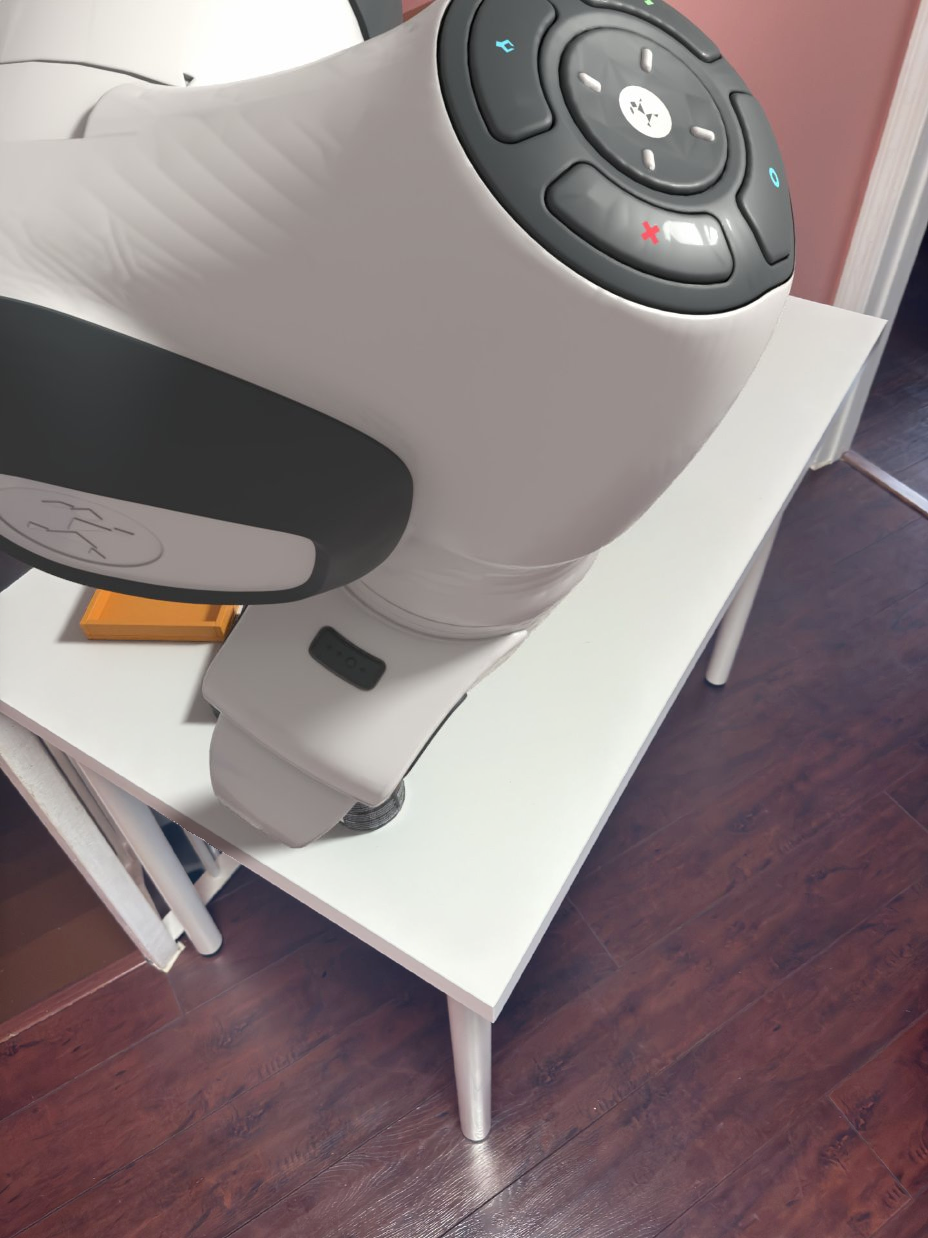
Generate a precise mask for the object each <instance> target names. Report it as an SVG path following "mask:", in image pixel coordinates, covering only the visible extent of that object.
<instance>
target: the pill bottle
mask: <svg viewBox="0 0 928 1238" xmlns="http://www.w3.org/2000/svg"><path fill="white" fill-rule="evenodd" d="M405 800H406V786H405V779H401V780H400V782H399V784H398V785H397V787H396V788H395V790H394V791H393V792H392V794H391V795H390V796H389V798H388V799H387V800H385V801H384V802H383V803H382V804H380V805H378V806H376V807H369V806H367V805H365V804H363V803H361V802H359V801H357V802H356V804H355V805H354V806H353V807H352V808H351V809H350V810H349V812H348V813H347V814H346V815H345V816H344V817H343V818H342V819H341V820H340V821H339V822H338V824H340V825H341V826H342V827H344V828H346V829H349V830H352V831H357V832H369V831H374V830H378V829H381V828H382V827H385V826H386V825H387V824H389V823H391V822H392V821H393V820H394V819H395V818H396V817H397V816H398V814H399V813H400V812H401V810H402V808H403V806H404V803H405Z"/></svg>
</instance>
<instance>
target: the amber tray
mask: <svg viewBox="0 0 928 1238" xmlns="http://www.w3.org/2000/svg"><path fill="white" fill-rule="evenodd" d="M239 606H240V605H206V604H189V603H179V602H169V601H161V600H154V599H147V598H142V597H136V596H130V595H125V594H120V593H115V592H110V591H106V590H101V589H97V588H95V591H94V593H93V594H92V597H91V599H90V601H89V603H88V605H87V607H86V609H85V612H84V613H83V615H82V617H81V618H80V621H79V624H78V625H79V627H80V628H81V630H82V631H83V634H84V635H85V637H86V638H87V640H112V641H113V640H114V641H115V640H118V641H170V642H172V641H175V642H177V641H178V642H223V641H224V639H225V637H226V636H227V634H228V633H229V631H230V629H231V628H232V626H233V625H234V621H235V618H236V615H237V612H238V610H239Z"/></svg>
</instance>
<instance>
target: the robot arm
mask: <svg viewBox="0 0 928 1238" xmlns="http://www.w3.org/2000/svg"><path fill="white" fill-rule="evenodd" d="M720 50H721V49H720V48H719V47H718V45H717V44H716V43H715V42H714V41H713V39H711V37H709V36H708V35H707V34H706V33H705V32H704V31H703V30H701V29H700V28H699V26H697V25H696V24H695V23H693V21H691V20H690V19H689V18H687V17H686V16H685V14H682V13H681V12H680V11H679V10H678V9H676V8H674V7H673V6H672V5H670V4H669V3H668V2H666V1H664V0H434V1H433V2H432V3H430V4H429V5H428V6H426V7H425V8H424V9H423V10H421V11H420V12H418V13H417V14H415V15H414V16H412V17H411V18H409V19H408V20H406V21H404V15H403V1H402V0H0V551H1V552H3V553H4V554H6V555H8V556H9V557H12V558H13V559H15V560H18V561H20V562H21V563H23V564H26V565H28V566H30V567H32V568H33V569H36V570H39V571H41V572H42V573H45V574H48V575H51V576H53V577H57V578H59V579H62V580H65V581H68V582H70V583H71V582H72V583H74V584H78V585H81V586H86V587H89V588H92V589H101V590H106V591H110V592H115V593H120V594H125V595H130V596H136V597H142V598H147V599H154V600H161V601H169V602H179V603H189V604H206V605H239V606H243V605H245V607H244V609H243V610H242V609H241V610H242V612H241V611H240V613H239V615H238V617H237V618H236V620H234V621H235V622H233V624H232V627H231V629H230V631H229V633H228V634H227V636H226V637H225V639H224V641H222V642H221V645H220V647H219V651H217V653H216V655H215V656H214V658H213V659H212V661H211V662H210V664H209V666H208V668H207V670H206V671H205V674H204V677H203V681H202V686H201V691H202V696H203V698H204V699H205V700H206V701H207V702H208V703H209V705H210V704H211V705H213V706H214V707H215V708H216V709H217V710H218V711H220V712H221V713H220V715H219V718H218V719H217V720H216V722H215V725H214V728H213V732H212V734H211V739H210V743H209V750H208V754H209V755H208V760H209V761H208V764H209V765H208V766H209V767H208V768H209V777H210V781H211V782H210V784H211V787H212V792H213V794H214V796H215V797H216V799H217V801H219V802H220V803H221V804H222V805H223V806H224V807H226V808H227V809H229V810H230V811H231V812H232V813H234V814H235V815H237V816H238V817H240V818H241V819H243V820H244V821H245V822H247V823H248V824H250V825H251V826H253V828H254V827H255V828H256V829H257V830H259V831H261V832H263V833H264V834H265V835H267V836H269V837H271V838H272V839H273V840H275V841H277V842H279V843H280V844H282V845H284V846H286V847H289V848H291V849H297V850H298V849H302V848H305V847H307V846H308V845H311V844H312V843H313V842H315V841H317V840H318V839H320V838H321V837H322V836H323V835H325V834H326V833H327V832H329V831H330V830H331V829H332V828H333V827H335V826H336V825H337V824H339V821H340V820H341V819H342V818H343V817H344V816H345V815H346V814H347V813H348V812H349V810H350V809H351V808H352V807H353V806H354V805H355V804H356V802H357V801H359V802H361V803H363V804H365V805H367V806H369V807H376V806H378V805H380V804H382V803H383V802H384V801H385V800H387V799H388V798H389V796H390V795H391V794H392V792H393V791H394V790H395V788H396V787H397V785H398V784H399V782H400V780H401V779H403V780H405V778H406V777H407V776H408V775H409V774H410V772H411V771H412V769H413V768H414V767H415V765H416V764H417V762H418V761H419V760H420V759H421V756H422V755H423V754H424V752H425V751H426V750H427V749H428V746H429V745H430V744H431V743H432V741H433V740H434V738H435V737H436V736H437V735H438V733H439V731H440V730H441V729H442V728H443V726H444V725H445V724H446V722H447V721H448V720H449V719H450V718H451V716H452V715H453V714H454V712H455V711H456V710H457V709H458V708H459V707H460V706H461V705H462V704H463V703H464V702H465V700H466V699H467V698H468V693H469V692H470V691H472V690H473V689H474V688H475V687H476V686H477V685H479V684H480V683H482V681H483V680H485V679H486V678H487V677H489V676H490V675H491V674H492V673H493V672H495V671H496V670H497V669H498V668H499V667H501V666H502V665H503V664H504V663H506V662H507V661H508V660H509V659H510V658H511V656H513V654H515V652H517V650H519V648H520V647H521V646H522V645H523V644H524V642H525V641H526V640H527V639H528V638H529V637H530V636H531V635H532V634H533V633H534V632H535V631H536V630H537V629H538V628H539V626H541V624H542V623H543V622H544V621H545V620H546V619H547V618H548V617H549V616H550V614H551V613H552V612H553V611H555V609H556V608H557V607H558V606H559V605H560V604H561V603H562V602H563V601H564V600H565V599H566V598H567V597H568V596H569V595H570V594H571V592H572V591H573V590H574V589H576V587H577V586H578V585H579V584H580V583H581V582H582V580H584V578H585V577H586V575H587V574H588V573H589V571H590V570H591V569H592V567H593V566H594V564H595V562H596V560H597V558H598V557H599V556H600V554H601V551H602V549H603V548H604V547H606V546H608V545H609V544H611V543H612V542H614V541H615V540H616V539H618V538H620V537H621V536H623V535H624V534H625V533H626V532H627V531H628V530H630V529H631V528H632V527H633V526H634V525H635V524H636V523H637V522H638V521H639V520H640V519H641V518H642V517H643V516H644V515H645V514H646V513H647V511H649V509H650V508H651V507H652V506H653V505H654V504H655V503H656V502H657V501H658V500H659V498H661V497H662V495H663V494H664V493H665V492H666V491H668V489H669V488H670V487H671V486H672V484H673V483H674V482H675V481H676V480H677V479H678V477H679V476H680V475H681V474H682V473H683V472H684V470H685V469H687V467H688V466H689V465H690V464H691V462H693V459H694V458H696V456H697V455H698V453H699V452H700V451H701V450H702V449H703V447H704V446H705V445H706V444H707V442H708V441H709V439H710V438H711V437H712V435H714V433H715V432H716V430H717V429H718V427H719V426H720V425H721V423H722V422H723V420H724V419H725V417H726V416H727V414H728V413H729V411H730V410H731V408H732V407H733V405H734V404H735V402H736V401H737V400H738V398H739V396H740V395H741V394H742V392H743V391H744V390H745V389H744V388H745V387H746V386H747V384H748V382H749V380H750V379H751V378H752V376H753V374H754V372H755V370H756V369H757V367H758V365H759V363H760V362H761V360H762V358H763V355H764V354H765V351H766V350H767V347H768V345H769V343H770V341H771V339H772V337H773V335H774V333H775V331H776V329H777V327H778V325H779V322H780V320H781V317H782V315H783V313H784V310H785V308H786V304H787V302H788V299H789V296H790V293H791V289H792V285H793V280H794V276H795V267H796V256H797V255H796V252H797V246H796V229H795V228H796V227H795V219H794V218H795V217H794V212H793V205H792V204H793V203H792V198H791V192H790V188H789V183H788V180H787V179H788V178H787V173H786V168H785V163H784V160H783V156H782V152H781V150H780V147H779V145H778V142H777V140H776V137H775V133H774V131H773V128H772V126H771V124H770V121H769V119H768V117H767V115H766V113H765V110H764V108H763V106H762V104H761V103H760V101H759V100H758V99H757V98H756V97H755V96H754V94H753V93H752V92H751V89H750V88H749V87H748V86H747V83H745V81H744V79H743V78H742V76H740V74H739V73H738V72H737V70H736V69H735V68H734V67H733V66H732V64H731V63H730V62H729V60H727V58H726V57H725V56H724V54H722V53H721V51H720Z"/></svg>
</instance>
